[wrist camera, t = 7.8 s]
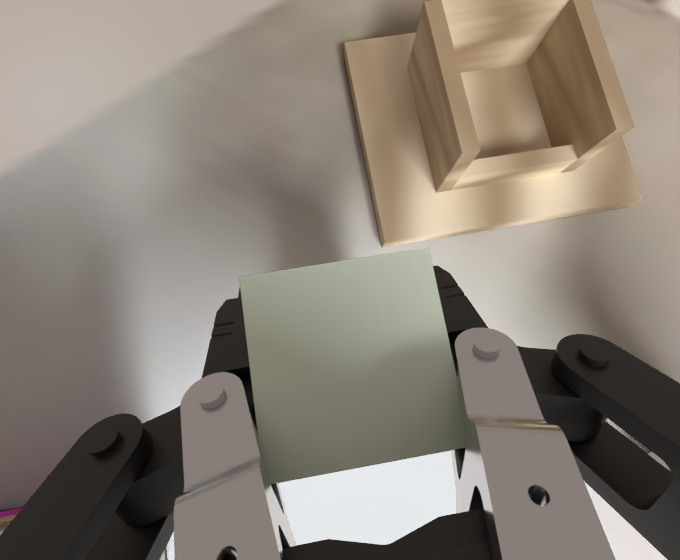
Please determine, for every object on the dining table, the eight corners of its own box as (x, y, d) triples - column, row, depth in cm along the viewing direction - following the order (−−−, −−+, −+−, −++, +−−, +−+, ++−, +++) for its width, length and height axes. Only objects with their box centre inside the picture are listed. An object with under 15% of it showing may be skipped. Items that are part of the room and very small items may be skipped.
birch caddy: (382, 247, 20) (397, 214, 15) (344, 56, 22) (346, -30, 17) (627, 206, 20) (722, 162, 15) (567, 24, 22) (634, -67, 17)
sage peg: (300, 409, 15) (263, 485, 7) (286, 311, 15) (239, 277, 7) (396, 392, 15) (471, 446, 7) (379, 296, 15) (428, 247, 8)
